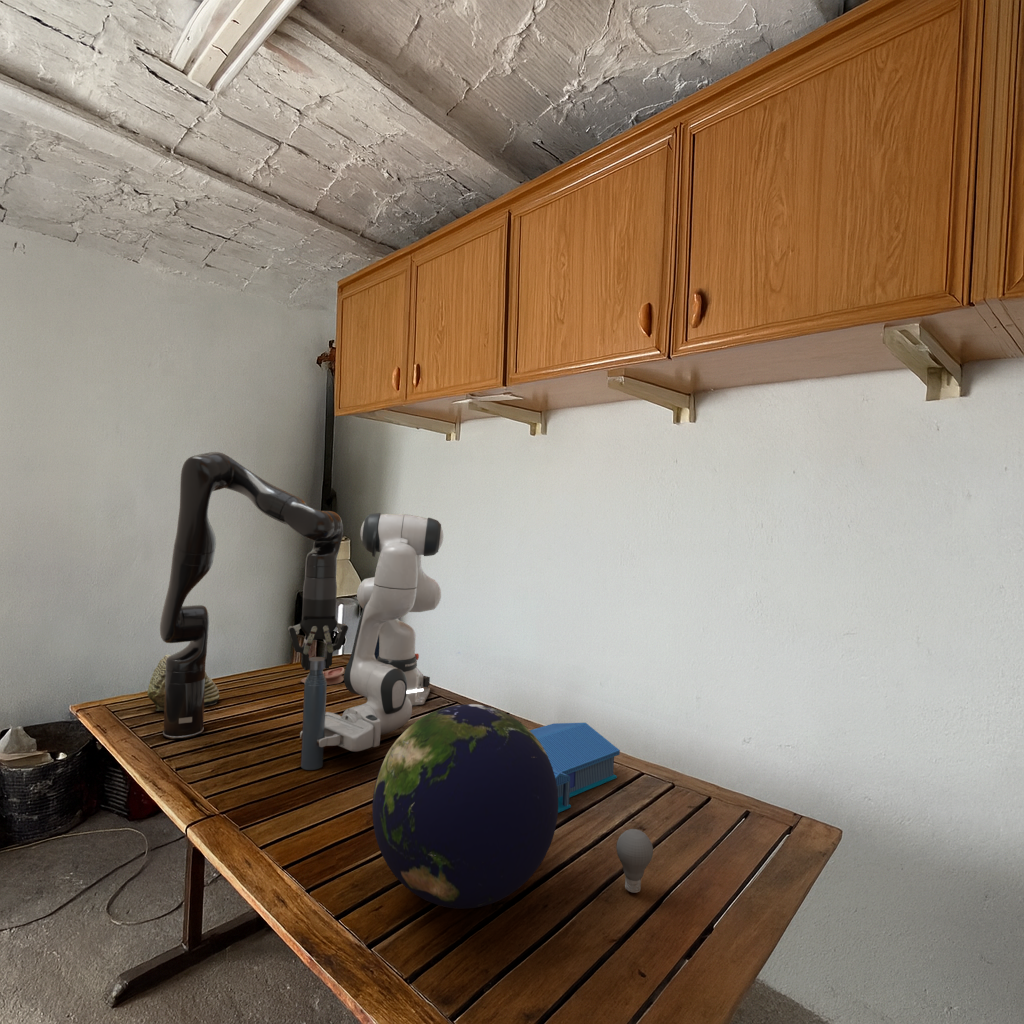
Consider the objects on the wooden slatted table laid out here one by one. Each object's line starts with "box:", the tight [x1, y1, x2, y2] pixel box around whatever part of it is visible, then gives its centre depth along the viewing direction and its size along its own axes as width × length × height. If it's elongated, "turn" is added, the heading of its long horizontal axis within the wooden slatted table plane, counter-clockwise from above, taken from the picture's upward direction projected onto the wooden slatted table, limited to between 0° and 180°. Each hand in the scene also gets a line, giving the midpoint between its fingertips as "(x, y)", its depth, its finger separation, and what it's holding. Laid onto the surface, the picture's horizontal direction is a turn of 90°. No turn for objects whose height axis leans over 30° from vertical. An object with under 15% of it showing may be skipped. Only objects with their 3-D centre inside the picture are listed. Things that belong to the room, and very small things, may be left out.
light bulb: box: [615, 828, 654, 894], centre depth 106 cm, size 6×6×10 cm
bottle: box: [300, 669, 328, 771], centre depth 149 cm, size 5×5×24 cm
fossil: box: [147, 654, 221, 712], centre depth 185 cm, size 9×18×15 cm, turn 132°
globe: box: [371, 703, 559, 910], centre depth 103 cm, size 30×30×30 cm
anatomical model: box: [300, 666, 345, 686], centre depth 215 cm, size 13×4×12 cm
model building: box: [529, 722, 621, 814], centre depth 143 cm, size 39×24×10 cm, turn 132°
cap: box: [307, 656, 326, 671], centre depth 149 cm, size 4×4×2 cm
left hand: (316, 668), depth 149 cm, fingers closed on cap, 4 cm apart
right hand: (310, 739), depth 148 cm, fingers closed on bottle, 5 cm apart
